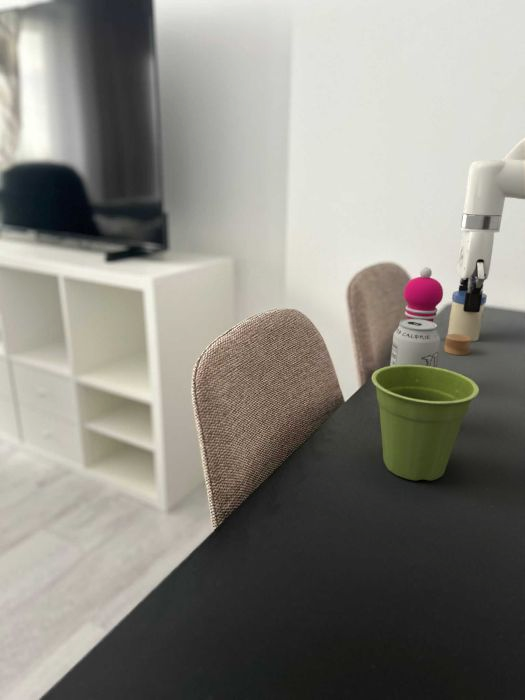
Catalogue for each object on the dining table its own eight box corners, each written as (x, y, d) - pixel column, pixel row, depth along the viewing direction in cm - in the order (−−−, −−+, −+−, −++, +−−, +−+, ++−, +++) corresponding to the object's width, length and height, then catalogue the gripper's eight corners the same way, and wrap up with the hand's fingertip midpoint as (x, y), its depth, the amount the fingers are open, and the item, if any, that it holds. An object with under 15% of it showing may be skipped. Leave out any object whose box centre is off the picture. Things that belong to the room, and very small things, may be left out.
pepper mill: (381, 383, 87) (394, 266, 81) (404, 373, 92) (417, 262, 86) (420, 396, 83) (436, 273, 76) (441, 385, 87) (458, 268, 81)
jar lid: (448, 302, 110) (449, 295, 110) (455, 295, 116) (455, 289, 115) (483, 306, 107) (484, 299, 106) (487, 299, 112) (489, 293, 112)
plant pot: (463, 452, 66) (477, 371, 63) (464, 504, 56) (481, 410, 52) (371, 435, 70) (379, 358, 66) (355, 481, 59) (364, 392, 56)
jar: (471, 332, 117) (478, 293, 114) (483, 341, 111) (490, 300, 108) (443, 332, 117) (448, 292, 114) (453, 341, 111) (459, 299, 108)
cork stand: (463, 347, 107) (465, 334, 106) (472, 355, 102) (474, 341, 101) (440, 347, 107) (442, 333, 106) (448, 355, 102) (450, 340, 101)
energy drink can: (416, 439, 69) (430, 333, 64) (376, 425, 73) (386, 323, 68) (434, 424, 74) (449, 323, 69) (395, 411, 77) (407, 315, 72)
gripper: (454, 219, 115) (443, 297, 120) (469, 226, 98) (456, 316, 104) (490, 220, 113) (477, 299, 119) (511, 228, 97) (495, 319, 103)
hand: (467, 306), depth 112 cm, fingers closed on jar lid, 6 cm apart
